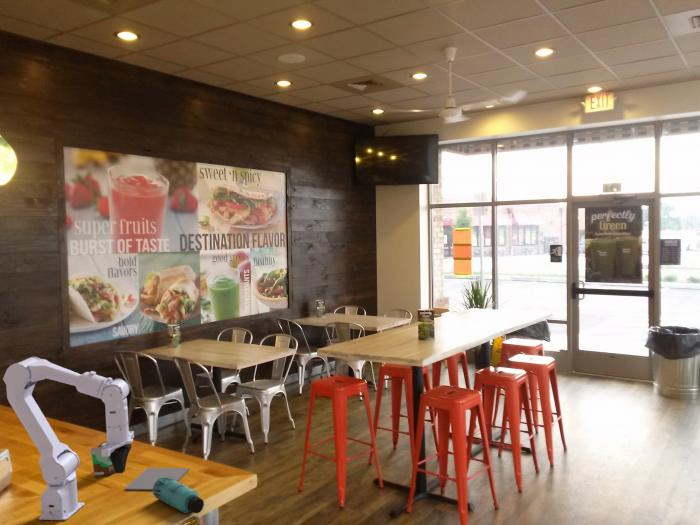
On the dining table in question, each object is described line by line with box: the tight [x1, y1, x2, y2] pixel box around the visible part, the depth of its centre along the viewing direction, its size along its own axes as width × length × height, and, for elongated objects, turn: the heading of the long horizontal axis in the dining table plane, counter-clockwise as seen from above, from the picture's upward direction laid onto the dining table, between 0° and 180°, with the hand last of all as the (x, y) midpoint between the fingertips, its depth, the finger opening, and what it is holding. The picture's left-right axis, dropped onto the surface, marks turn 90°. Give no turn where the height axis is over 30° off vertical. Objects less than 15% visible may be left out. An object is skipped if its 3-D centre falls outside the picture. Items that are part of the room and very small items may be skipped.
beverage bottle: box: [152, 476, 205, 514], centre depth 166 cm, size 6×7×20 cm
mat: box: [124, 467, 190, 491], centre depth 185 cm, size 16×14×1 cm
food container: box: [89, 440, 116, 478], centre depth 192 cm, size 12×6×10 cm, turn 168°
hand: (120, 472), depth 166 cm, fingers closed
